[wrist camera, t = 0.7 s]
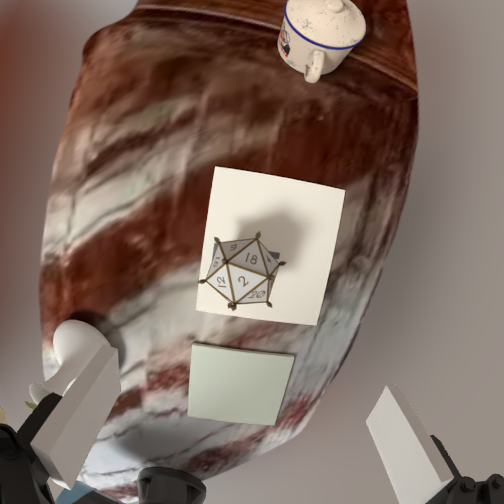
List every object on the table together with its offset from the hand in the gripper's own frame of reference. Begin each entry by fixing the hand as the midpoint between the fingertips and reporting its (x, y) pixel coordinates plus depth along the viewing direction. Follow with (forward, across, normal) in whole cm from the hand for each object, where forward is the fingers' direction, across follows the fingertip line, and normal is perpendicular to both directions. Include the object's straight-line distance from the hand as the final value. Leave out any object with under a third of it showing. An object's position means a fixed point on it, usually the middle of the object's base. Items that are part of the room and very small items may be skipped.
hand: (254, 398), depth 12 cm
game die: (+24, +1, +1) cm, 24 cm away
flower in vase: (+23, +22, +19) cm, 37 cm away
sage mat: (+23, -2, +20) cm, 30 cm away
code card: (+24, -2, -2) cm, 24 cm away
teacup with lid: (+25, -2, -27) cm, 37 cm away
